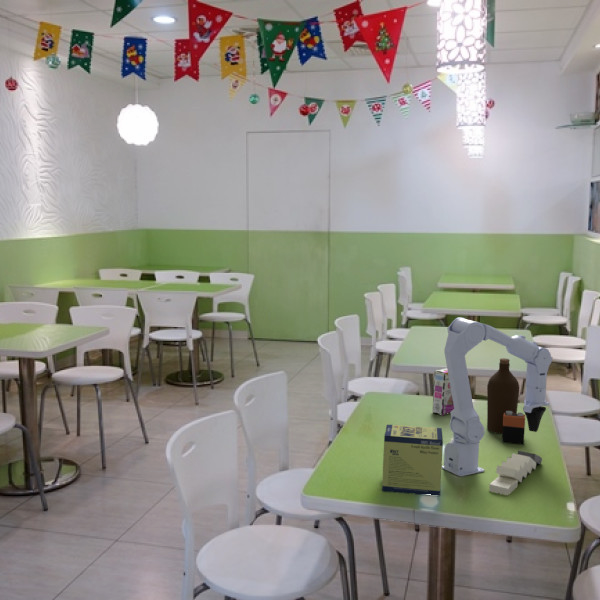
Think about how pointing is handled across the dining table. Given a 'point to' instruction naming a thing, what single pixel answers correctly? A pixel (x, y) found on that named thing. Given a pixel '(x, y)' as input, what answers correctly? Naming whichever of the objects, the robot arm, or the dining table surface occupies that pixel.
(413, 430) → the protein box
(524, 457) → the domino
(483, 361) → the dining table surface
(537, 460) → the domino
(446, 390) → the candy bar box
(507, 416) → the battery
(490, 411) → the olive oil
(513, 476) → the domino
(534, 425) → the robot arm
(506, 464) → the domino
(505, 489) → the domino
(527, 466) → the domino
